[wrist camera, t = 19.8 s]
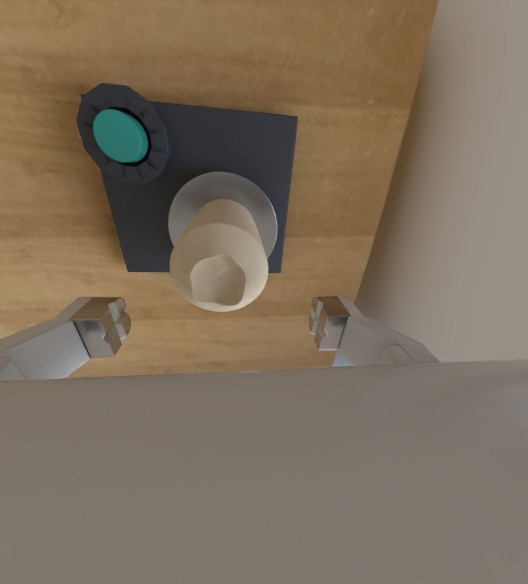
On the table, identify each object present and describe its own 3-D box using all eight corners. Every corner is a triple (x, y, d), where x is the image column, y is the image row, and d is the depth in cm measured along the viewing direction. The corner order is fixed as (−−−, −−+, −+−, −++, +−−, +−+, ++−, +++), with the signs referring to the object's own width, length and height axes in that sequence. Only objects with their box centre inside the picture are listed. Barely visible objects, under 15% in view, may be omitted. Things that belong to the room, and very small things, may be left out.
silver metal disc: (281, 175, 19) (282, 175, 18) (272, 278, 23) (272, 279, 23) (160, 167, 17) (159, 167, 17) (176, 277, 22) (176, 279, 22)
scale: (293, 113, 19) (304, 105, 16) (277, 266, 27) (283, 279, 24) (92, 92, 17) (62, 78, 14) (134, 264, 25) (121, 279, 22)
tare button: (144, 115, 16) (136, 111, 15) (152, 163, 18) (145, 163, 16) (98, 110, 16) (85, 106, 14) (110, 160, 17) (100, 160, 16)
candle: (267, 239, 21) (290, 295, 12) (218, 270, 22) (209, 341, 13) (232, 184, 18) (232, 206, 10) (179, 221, 19) (136, 271, 11)
